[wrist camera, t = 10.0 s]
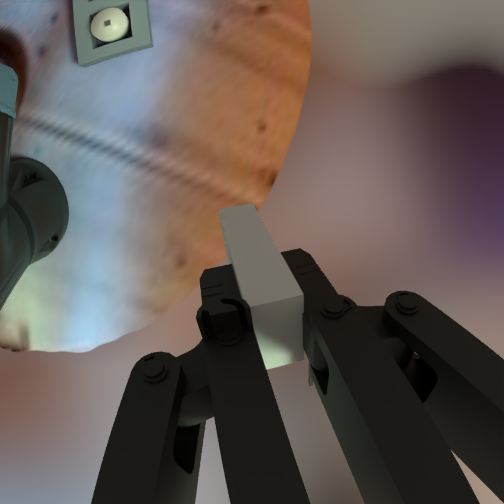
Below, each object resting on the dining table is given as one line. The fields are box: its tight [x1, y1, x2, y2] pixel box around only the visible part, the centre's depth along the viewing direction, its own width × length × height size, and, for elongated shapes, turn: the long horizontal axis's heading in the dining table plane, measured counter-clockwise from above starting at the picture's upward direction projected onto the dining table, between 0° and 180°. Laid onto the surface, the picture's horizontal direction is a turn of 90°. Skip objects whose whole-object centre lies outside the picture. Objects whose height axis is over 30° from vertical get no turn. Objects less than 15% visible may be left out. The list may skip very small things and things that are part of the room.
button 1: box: [91, 8, 130, 43], centre depth 24 cm, size 4×4×3 cm
